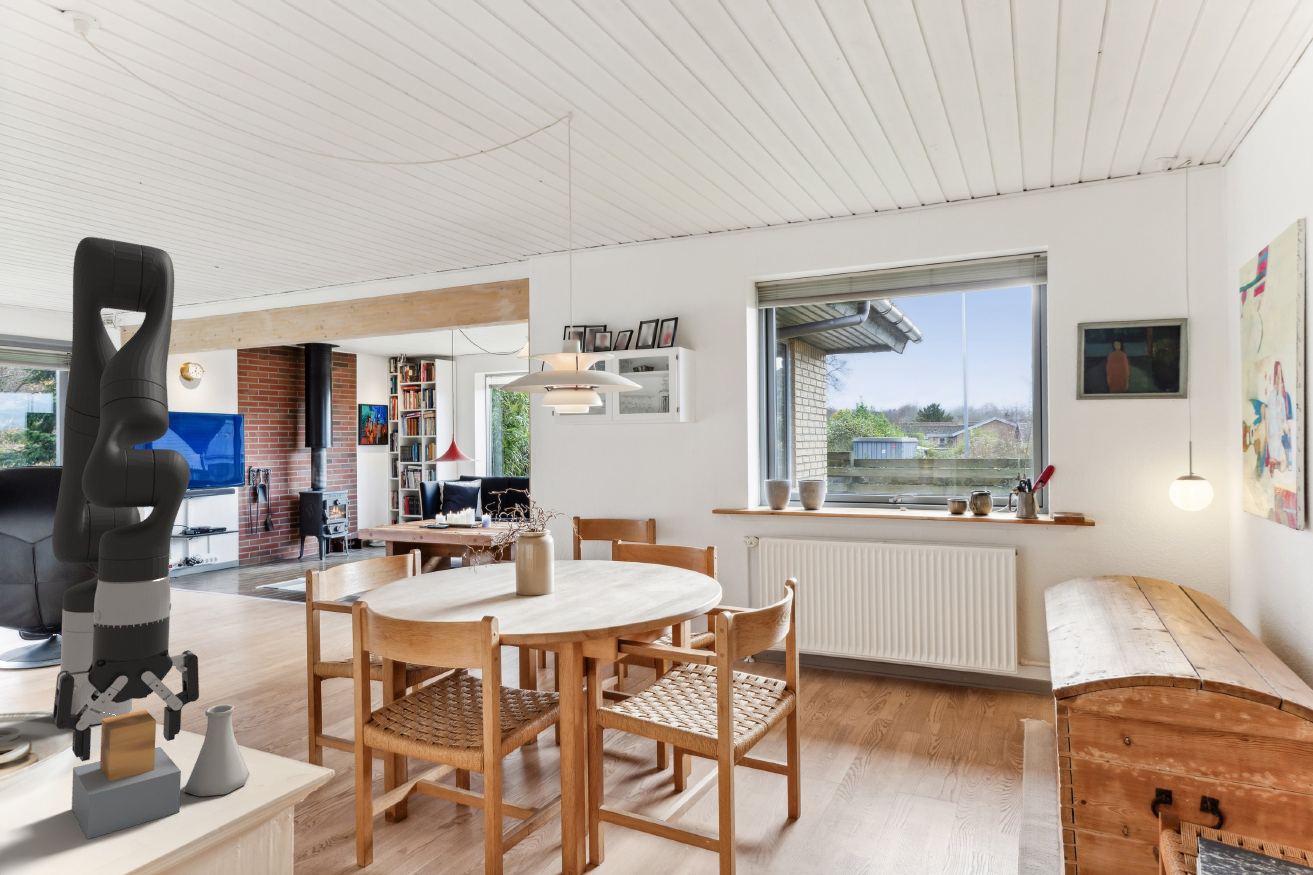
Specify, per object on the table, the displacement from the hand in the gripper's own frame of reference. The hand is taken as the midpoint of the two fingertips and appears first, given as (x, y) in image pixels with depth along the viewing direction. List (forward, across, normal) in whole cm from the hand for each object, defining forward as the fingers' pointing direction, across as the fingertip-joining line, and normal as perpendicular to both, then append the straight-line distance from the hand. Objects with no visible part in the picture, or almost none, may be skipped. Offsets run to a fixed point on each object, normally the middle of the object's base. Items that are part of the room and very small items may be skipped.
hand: (127, 748), depth 91 cm
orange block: (+3, 0, 0) cm, 3 cm away
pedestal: (+8, 0, 0) cm, 8 cm away
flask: (+8, -10, 0) cm, 13 cm away
